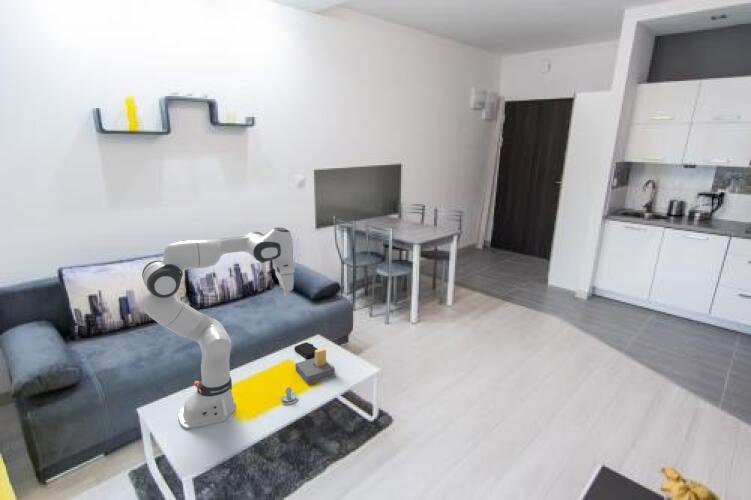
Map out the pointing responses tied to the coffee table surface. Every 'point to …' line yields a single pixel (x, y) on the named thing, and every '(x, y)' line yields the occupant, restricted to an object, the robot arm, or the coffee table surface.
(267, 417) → the coffee table surface
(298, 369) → the grey slotted base
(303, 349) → the carrying case or bag
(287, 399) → the pacifier
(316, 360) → the tall tan cardboard box
